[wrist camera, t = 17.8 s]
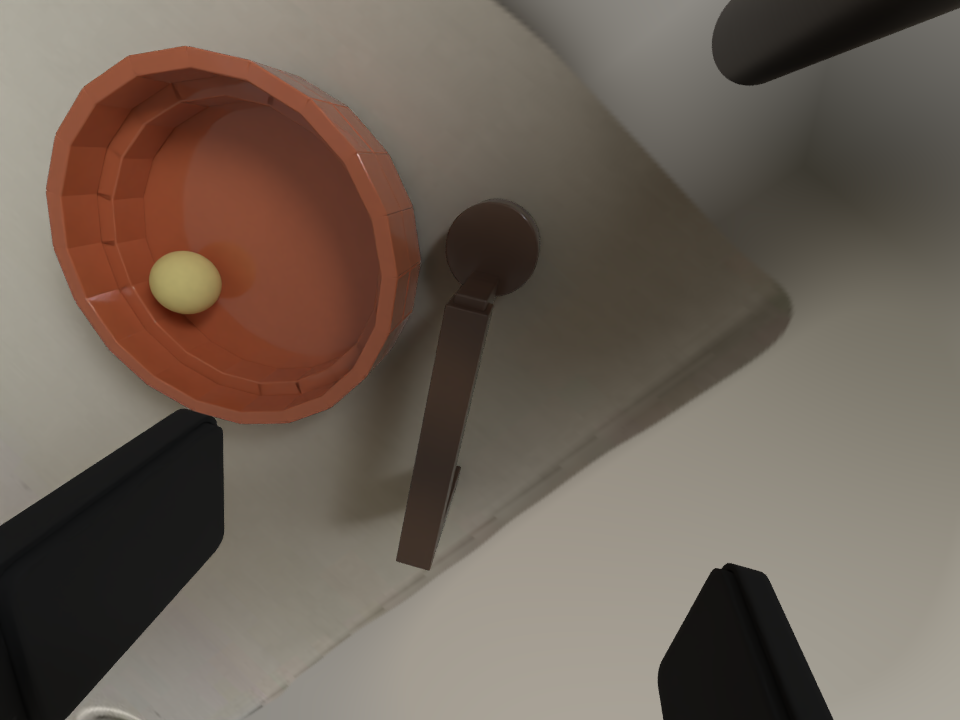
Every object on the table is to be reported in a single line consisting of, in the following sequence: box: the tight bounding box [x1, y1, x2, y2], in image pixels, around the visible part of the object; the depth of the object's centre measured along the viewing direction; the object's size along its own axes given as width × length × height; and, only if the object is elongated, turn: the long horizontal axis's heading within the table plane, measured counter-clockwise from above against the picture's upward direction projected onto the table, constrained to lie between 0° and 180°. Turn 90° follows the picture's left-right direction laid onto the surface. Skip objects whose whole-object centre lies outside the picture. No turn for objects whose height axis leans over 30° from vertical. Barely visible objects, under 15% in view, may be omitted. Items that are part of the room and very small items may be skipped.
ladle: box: [396, 199, 540, 570], centre depth 22 cm, size 16×4×6 cm, turn 168°
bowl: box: [46, 46, 421, 424], centre depth 23 cm, size 15×15×4 cm
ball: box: [149, 251, 222, 314], centre depth 24 cm, size 3×3×3 cm
